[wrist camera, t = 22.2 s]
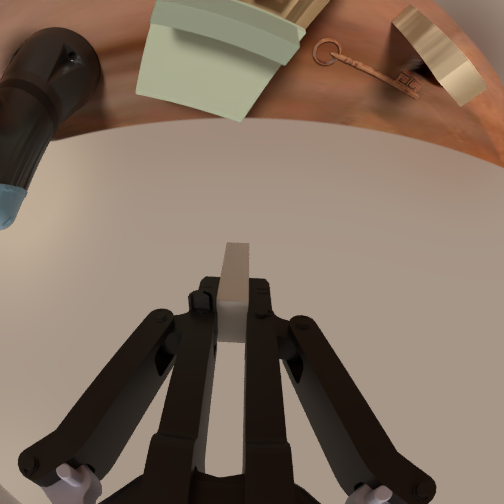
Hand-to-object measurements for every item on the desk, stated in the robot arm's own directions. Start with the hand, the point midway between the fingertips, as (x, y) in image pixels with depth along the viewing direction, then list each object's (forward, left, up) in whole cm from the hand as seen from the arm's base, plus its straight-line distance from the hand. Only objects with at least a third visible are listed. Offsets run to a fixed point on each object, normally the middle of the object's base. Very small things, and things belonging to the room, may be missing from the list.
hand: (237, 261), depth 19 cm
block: (+10, +17, -23) cm, 30 cm away
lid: (-6, +3, -17) cm, 18 cm away
